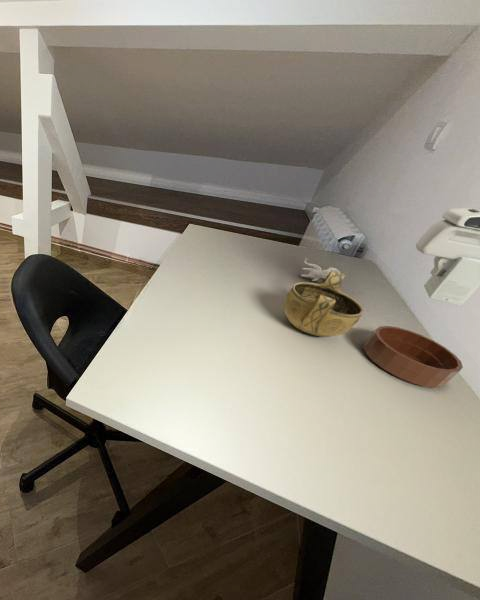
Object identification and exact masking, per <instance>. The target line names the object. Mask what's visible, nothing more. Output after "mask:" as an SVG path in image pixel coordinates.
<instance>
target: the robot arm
mask: <svg viewBox="0 0 480 600" xmlns="http://www.w3.org/2000/svg"><path fill="white" fill-rule="evenodd" d="M441 217H442V219H441V220H438V221H436V222H435V223H433V224H432V225H431V226H430V227H428V229H427V230H426V231H425V232H424V233H423V234H422V235H421V236H420V237H419V239H418V240H417V242H416V244H415V246H416V250H417V251H418V252H420V253H421V254H423V255H427V256H432V257H434V258H433V267H432V269H431V270H430V272H429V273H430V274H431V276H432V275H434V276H439V277H441V276H442V275H443V274H444V273H445V272H446V270H444V269H443V268H442V267H443V263H447V261H448V260H449V259H452V260H458V259H459V258H460V257H467V258H473V259H478V260H480V206H472V207H459V208H449V209H447V210H445V211H444V213H443V214H442V215H441Z"/></svg>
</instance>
